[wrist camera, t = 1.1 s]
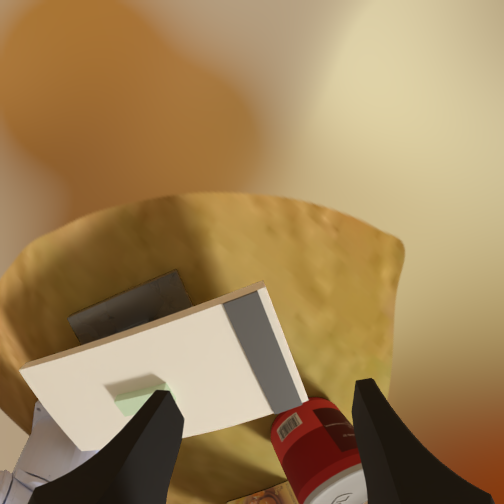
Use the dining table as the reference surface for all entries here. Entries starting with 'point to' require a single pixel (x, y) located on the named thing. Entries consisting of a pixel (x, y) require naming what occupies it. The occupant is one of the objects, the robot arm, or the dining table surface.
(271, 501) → the candy box
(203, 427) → the leveling board
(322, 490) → the canned food
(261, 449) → the dining table surface
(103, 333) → the pivot stand
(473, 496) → the robot arm
